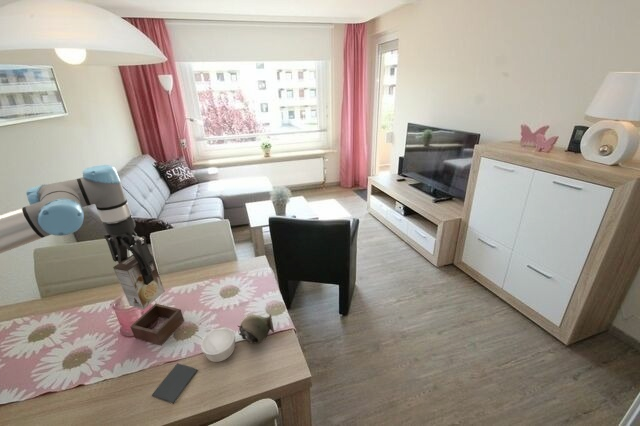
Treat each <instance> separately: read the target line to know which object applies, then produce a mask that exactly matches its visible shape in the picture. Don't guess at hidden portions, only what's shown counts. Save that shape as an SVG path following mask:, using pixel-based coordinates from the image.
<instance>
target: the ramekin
mask: <svg viewBox="0 0 640 426" xmlns="http://www.w3.org/2000/svg"><path fill="white" fill-rule="evenodd" d="M235 347H236V333H235V332H234V330H233V329H231V328H229V327H217V328H215V329H212V330H210V331H209V332H207V333H206V335H205V336H204V337H203V338H202V339H201V343H200V350H201V352H202V354H204V356H205V357H206V358H207V359H208V361H210V362H212V363H213V362H214V363H218V362H223V361H225V360H227V359H229V357H230V356H232V354H233V353H234V352H235V351H234V350H235V349H236V348H235Z"/></svg>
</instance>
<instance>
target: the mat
mask: <svg viewBox="0 0 640 426" xmlns="http://www.w3.org/2000/svg"><path fill="white" fill-rule="evenodd" d="M198 371H199V370H198V369H197V368H196V367H191V366H188V365H185V364H181V363H178V362H177V363H176V364H175V365H174V366H173V368H172V369H171V370H170V371H169V372H168V374H167V375H166V376H165V378H164V379H163V380H162V382H160V384H159V385H158V386H157V387H156V389H155V390H154V391H153V392H152V394H151V397H154V398H157V399H159V400H162V401H165V402H168V403H171V404H175V403H176V401H177V400H178V398H179V397H180V396H181V394H182V393H183V391H184V390H185V389H186V387H187V386H188V385H189V383H190V382H191V381H192V379H193V377H195V375H196V374H197V372H198Z"/></svg>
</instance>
